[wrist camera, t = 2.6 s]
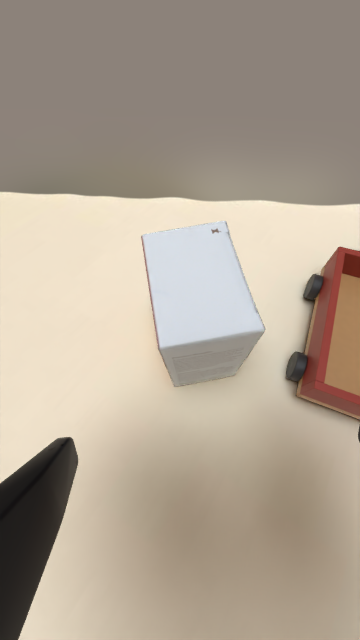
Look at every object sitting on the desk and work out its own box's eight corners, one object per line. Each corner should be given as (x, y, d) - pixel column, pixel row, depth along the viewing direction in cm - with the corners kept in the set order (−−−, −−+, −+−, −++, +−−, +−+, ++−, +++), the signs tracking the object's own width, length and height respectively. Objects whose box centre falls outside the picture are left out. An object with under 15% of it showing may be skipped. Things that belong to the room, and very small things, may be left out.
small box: (160, 310, 25) (139, 231, 15) (214, 300, 25) (226, 216, 15) (173, 389, 21) (155, 350, 12) (235, 377, 21) (267, 330, 12)
